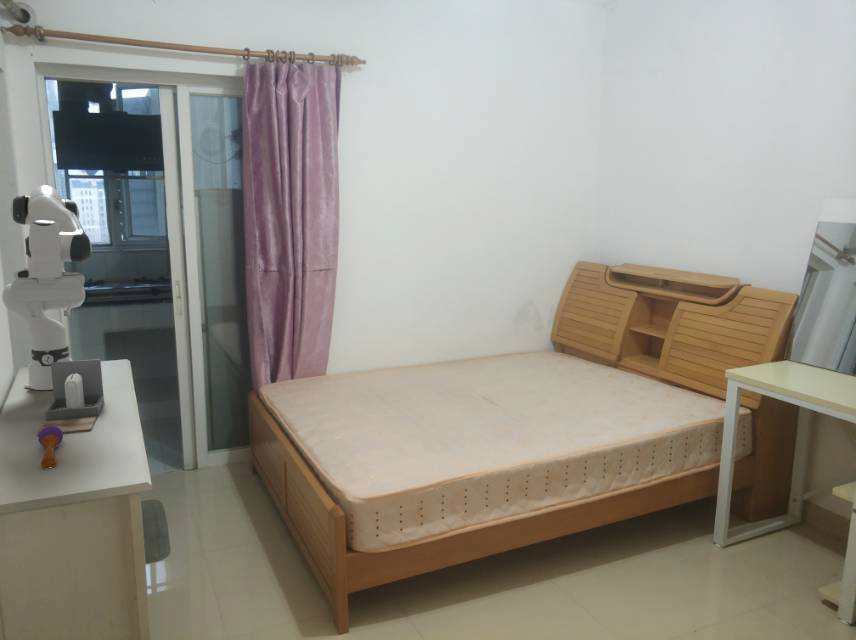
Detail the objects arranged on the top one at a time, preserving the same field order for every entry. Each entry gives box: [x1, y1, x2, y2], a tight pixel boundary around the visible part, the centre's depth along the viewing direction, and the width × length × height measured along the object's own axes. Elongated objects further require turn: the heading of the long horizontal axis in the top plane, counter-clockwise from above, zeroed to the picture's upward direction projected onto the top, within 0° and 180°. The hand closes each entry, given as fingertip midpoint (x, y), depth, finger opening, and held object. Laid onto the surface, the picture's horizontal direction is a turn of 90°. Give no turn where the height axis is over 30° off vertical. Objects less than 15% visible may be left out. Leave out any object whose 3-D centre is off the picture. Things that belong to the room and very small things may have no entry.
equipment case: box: [44, 358, 105, 421], centre depth 208 cm, size 15×15×15 cm
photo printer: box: [65, 373, 86, 409], centre depth 208 cm, size 10×4×12 cm, turn 20°
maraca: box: [37, 426, 64, 469], centre depth 173 cm, size 6×6×20 cm
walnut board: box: [36, 415, 98, 437], centre depth 195 cm, size 13×14×1 cm
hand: (50, 316), depth 204 cm, fingers open, 8 cm apart
